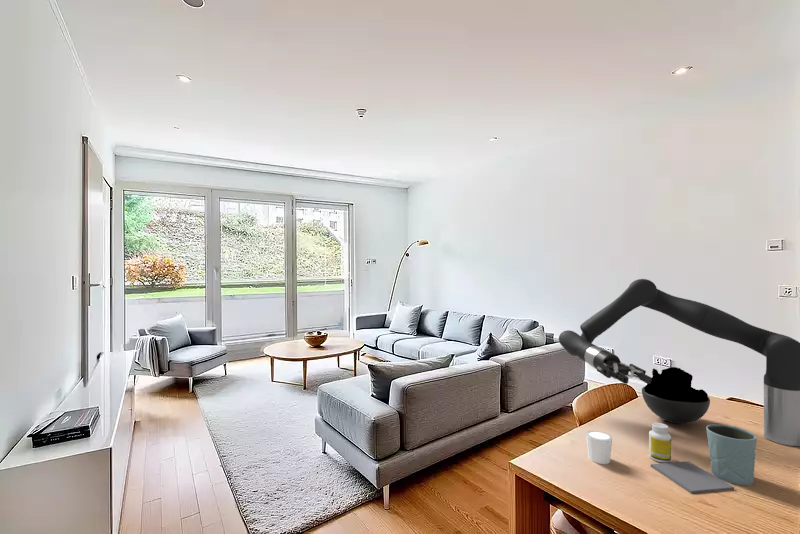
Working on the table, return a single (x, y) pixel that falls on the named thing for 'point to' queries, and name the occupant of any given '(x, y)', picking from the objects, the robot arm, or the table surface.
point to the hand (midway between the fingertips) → (638, 381)
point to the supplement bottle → (660, 443)
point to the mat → (691, 477)
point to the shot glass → (599, 446)
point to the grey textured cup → (732, 453)
